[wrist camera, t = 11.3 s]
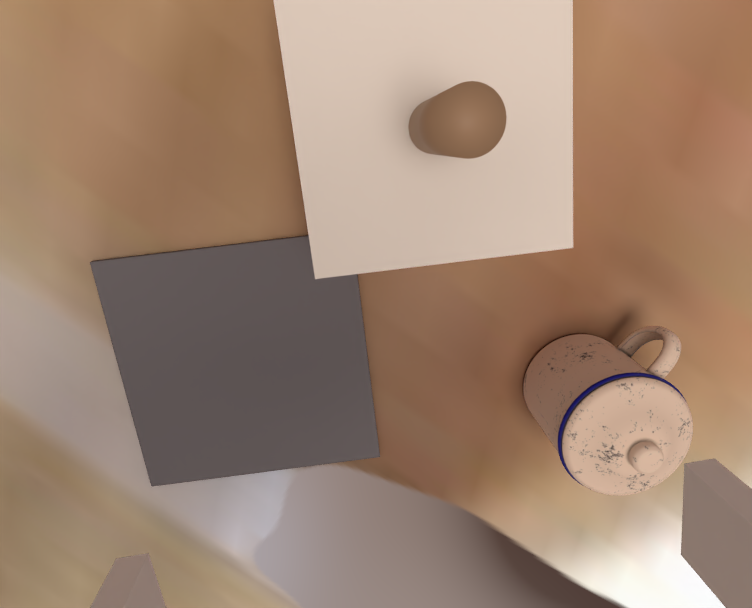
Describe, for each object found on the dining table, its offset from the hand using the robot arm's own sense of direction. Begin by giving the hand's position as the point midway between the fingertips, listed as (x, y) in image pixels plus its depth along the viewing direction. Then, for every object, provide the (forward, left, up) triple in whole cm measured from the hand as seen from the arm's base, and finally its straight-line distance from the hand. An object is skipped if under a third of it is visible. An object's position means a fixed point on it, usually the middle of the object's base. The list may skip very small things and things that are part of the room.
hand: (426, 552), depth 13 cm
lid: (+4, +10, -22) cm, 25 cm away
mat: (-11, -6, -29) cm, 31 cm away
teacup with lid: (+16, -10, -29) cm, 35 cm away
